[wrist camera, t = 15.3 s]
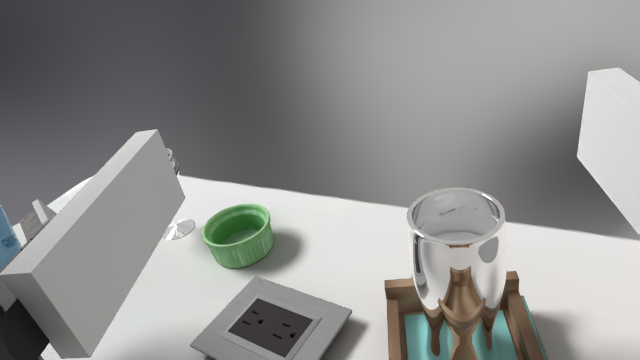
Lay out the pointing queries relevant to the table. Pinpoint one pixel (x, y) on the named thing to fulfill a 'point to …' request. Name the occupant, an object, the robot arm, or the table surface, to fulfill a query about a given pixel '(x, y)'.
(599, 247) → the table surface
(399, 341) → the caddy
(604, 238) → the table surface
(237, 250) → the ramekin
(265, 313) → the electrical outlet
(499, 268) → the chrome pint tumbler
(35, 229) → the electrical switch
